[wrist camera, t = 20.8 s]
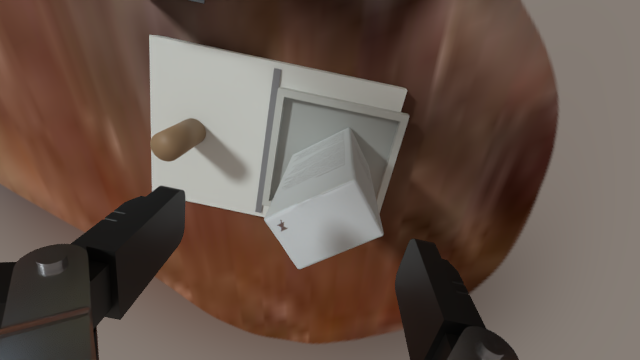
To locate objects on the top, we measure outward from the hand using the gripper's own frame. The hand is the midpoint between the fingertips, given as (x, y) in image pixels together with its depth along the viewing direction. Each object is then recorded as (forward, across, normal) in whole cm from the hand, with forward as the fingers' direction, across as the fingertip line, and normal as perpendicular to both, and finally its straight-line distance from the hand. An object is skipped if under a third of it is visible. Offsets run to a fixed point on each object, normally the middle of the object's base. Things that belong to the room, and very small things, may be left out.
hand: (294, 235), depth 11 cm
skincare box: (+18, -2, +4) cm, 19 cm away
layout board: (+20, +4, +4) cm, 21 cm away
